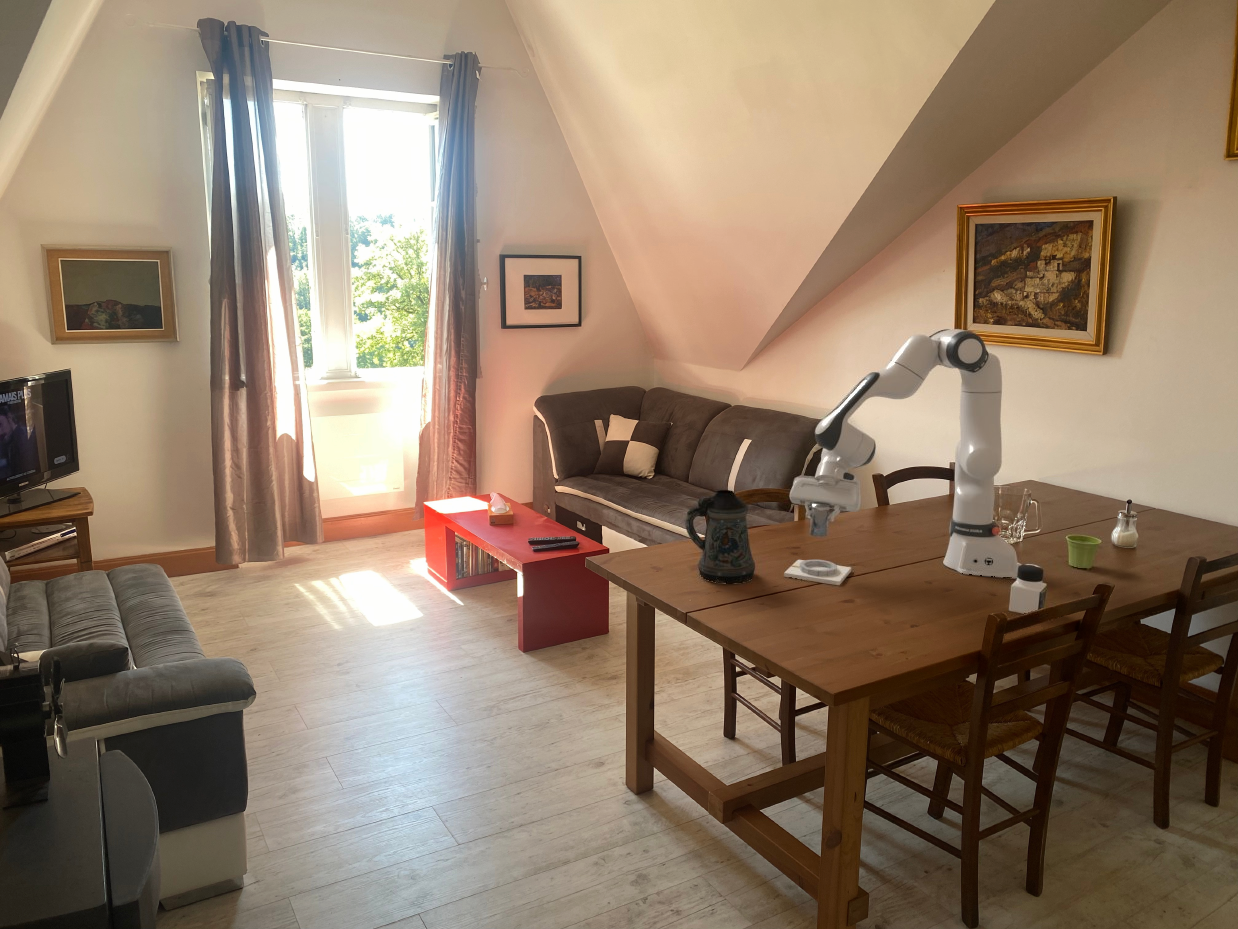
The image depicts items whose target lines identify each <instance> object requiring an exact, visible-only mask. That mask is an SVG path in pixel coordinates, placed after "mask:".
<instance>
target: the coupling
mask: <svg viewBox="0 0 1238 929" xmlns="http://www.w3.org/2000/svg"><path fill="white" fill-rule="evenodd" d="M810 509H811V518H810V522H809V523H810V524H809V535H810V536H813V537H817V538H819V537H820V538H823V537H827V536H828V534H829V533H828V530H829V521H828V519H827V518H828V514H829V513H830V505H829V504H827V503H820V502H813V503H812V506H811V507H810Z"/></svg>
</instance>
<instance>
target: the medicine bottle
mask: <svg viewBox="0 0 1238 929" xmlns="http://www.w3.org/2000/svg"><path fill="white" fill-rule="evenodd" d="M1043 579H1044V569H1043V568H1042V567H1041V566H1038V565H1036V564H1030V563H1026V564H1025V563H1024V564H1021V565H1020V566H1019V567H1018V573H1017V578H1016V579H1015V581H1014V582H1013V583H1012V584H1011V585H1010V596H1009V607H1008V611H1010V612H1011V613H1018V614H1022V615H1025V614H1024V613H1028V612H1031V611H1035V610H1039V609H1041V608H1044V609H1045V606H1046V605H1045V604H1046V596H1047V583H1045V582H1043Z"/></svg>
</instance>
